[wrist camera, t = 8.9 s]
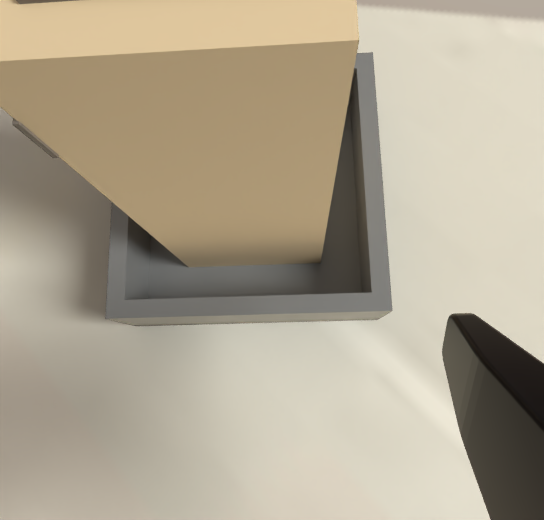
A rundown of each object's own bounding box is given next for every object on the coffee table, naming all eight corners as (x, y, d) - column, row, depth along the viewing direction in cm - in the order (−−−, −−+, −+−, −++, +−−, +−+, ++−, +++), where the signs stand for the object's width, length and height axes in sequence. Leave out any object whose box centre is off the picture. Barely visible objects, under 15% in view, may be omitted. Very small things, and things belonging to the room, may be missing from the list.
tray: (377, 319, 18) (392, 311, 15) (136, 325, 18) (105, 318, 15) (362, 98, 20) (372, 52, 17) (146, 110, 20) (119, 67, 17)
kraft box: (320, 264, 18) (360, 37, 5) (186, 268, 18) (-62, 62, 6) (315, 138, 19) (337, -285, 7) (189, 145, 19) (-15, -250, 7)
